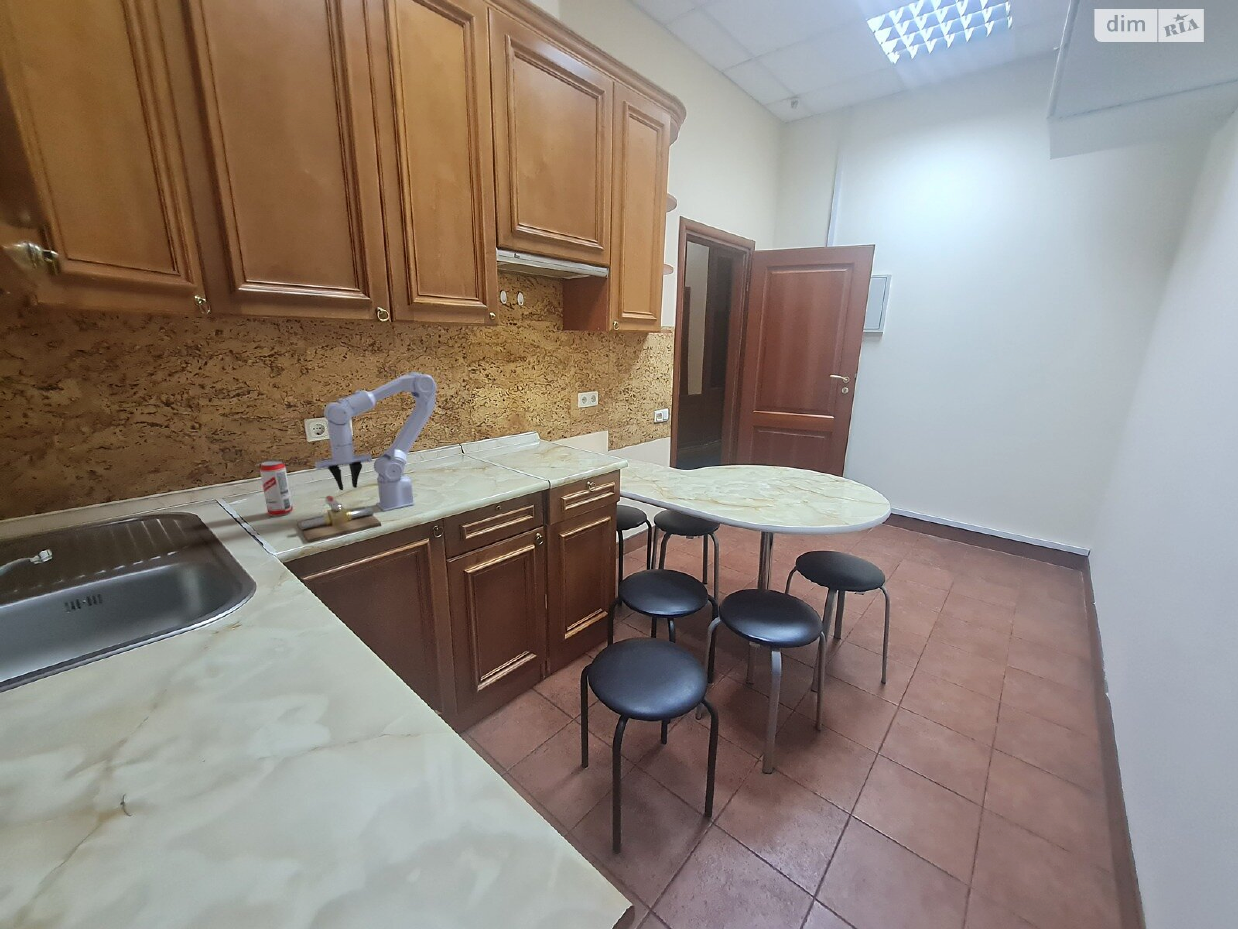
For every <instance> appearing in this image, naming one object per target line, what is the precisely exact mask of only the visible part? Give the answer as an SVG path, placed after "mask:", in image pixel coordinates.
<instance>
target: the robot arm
mask: <svg viewBox="0 0 1238 929" xmlns="http://www.w3.org/2000/svg"><path fill="white" fill-rule="evenodd" d="M437 390H438V387H437V384H436V381H435V378H433V377H432V376H431V375H430V374H428V373H420V372H417V371H411V372H410V373H408V374H404V375H403V374H402V375H401V376H398V377H397V378H395V379H393V380H391V381H389V382H387V383H385V384H383V385H381V386H379V387H377V388H375V389H373V390H371V391H368V390H367V391H366V390H364V389H363V390H358V389H357V390H355V391H354V392H353V393H354V394H351V395H349V396H347V397H345V398H339V399H337V400H338V402H329V403H328V404H327V405H326V407H324V410H323V417H324V418H325V420H327V428H328V429H327V431H328V437H329V444H330V445H329V446H330V450H331V458H328V459H325V460H319V461H315V462H314V465H315V466H314V467H315V469H316V470H322V469H328V470H329V472H330V473H331V474H332V476H333V478H334V480H335V481H336V483H337V484H336V485H337V486H338V489H339V490H340V491H343V490H344V485H343V480H342V469H340V467H341V466H347V465H348V466H349V470H350V475H351V485H352V487H353V488H354V489H355V488H356V489H357V487H358V479H359V476H360V473H361V470H362V469H363V464H362V463H366V462H367V463H370V462H371V463H372V462H373V459H372V458H373V457H372V455H371V454H370V453H368V454H357V455H356V454H355V449H354V448H355V447H354V442H353V441H354V440H353V434H352V428H351V426H350V425H351V423H350V422H351V420H352V418H355V417H357V416H359V415H361V414H363V413H365V412H367V411H370V410H372V409H373V408H375V406H376V403H377V402H379V401H381V400H383V399H386V398H388V397H391V396H394V395H396V394H398V393H400V392H406V393H411V395H412V397H413V399H414V402H415V406H414V408H413V409H412V411H411V413H410V414H409V416H408V418H407V419H406V420H405V423H404V424H403V426H402V427H401V429H400V430H399V433H398V434H397V435H396V438H394V441H393V442H392V444H391V445H390V447H388V448H386V449H385V450H384V451H383V453H382V454H381V455H380V456H379V457H377V458H376V459H375V460H374V463H373V469H374V471H375V473H377V474H378V475H377V478H376V480H377V487H378V490H377V491H378V496H379V502H376V503H375V505H376V506H377V507H378V508H380V509H381V510H382V511H383V512H386V511H391V510H395V509H396V510H397V509H401V508H405V507H409V506H413V505H415V502H414V501H415V500H414V494H413V493H414V492H413V485H412V484H413V483H412V482H411V478H410V477H409V476H405V475H404V472H405V466H406V464H407V460H408V459H407V455H408V454H409V452H410V450H411V449H412V446H413V445H414V444H415V441H416V440H417V439H418V437H419V435H420V433H421V432H422V431H423V428H424V426H426V423H427V422H428V420H429V418H431V415H432V413H434V412H433V411H434V410H435V408H436V393H437ZM403 475H404V476H403Z"/></svg>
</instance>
